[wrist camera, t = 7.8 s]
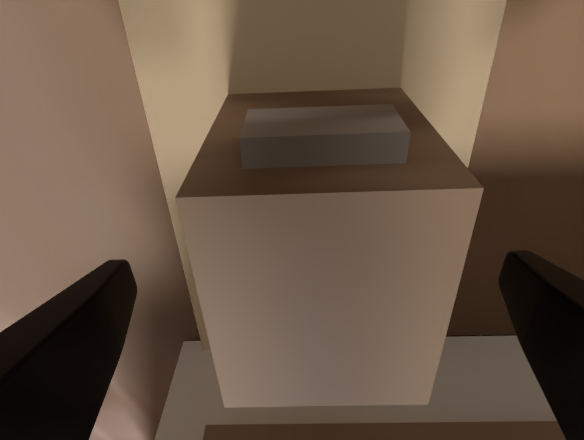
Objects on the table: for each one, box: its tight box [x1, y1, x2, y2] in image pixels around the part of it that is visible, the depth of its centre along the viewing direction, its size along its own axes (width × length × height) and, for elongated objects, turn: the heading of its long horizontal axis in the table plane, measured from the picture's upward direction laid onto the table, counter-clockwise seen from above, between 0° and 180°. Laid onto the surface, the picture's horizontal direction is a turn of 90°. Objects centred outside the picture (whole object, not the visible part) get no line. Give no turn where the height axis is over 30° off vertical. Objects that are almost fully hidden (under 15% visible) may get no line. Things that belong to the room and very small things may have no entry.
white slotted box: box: [118, 0, 566, 440], centre depth 11 cm, size 20×16×9 cm
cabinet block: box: [175, 88, 484, 408], centre depth 10 cm, size 5×7×6 cm
